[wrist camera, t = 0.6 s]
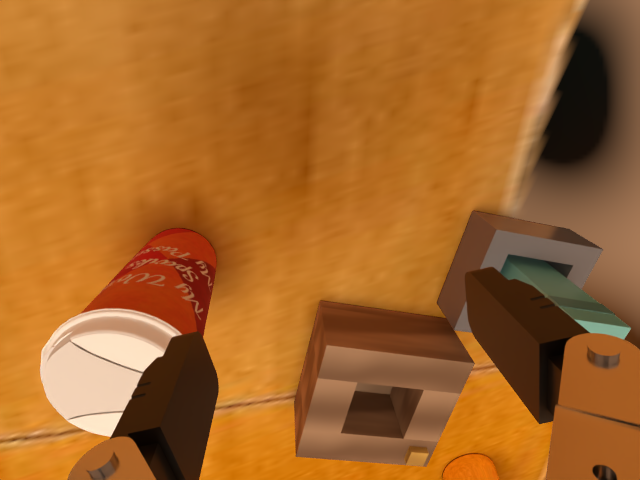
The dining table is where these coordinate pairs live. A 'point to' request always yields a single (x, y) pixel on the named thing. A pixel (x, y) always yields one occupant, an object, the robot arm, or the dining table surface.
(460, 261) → the grey square frame
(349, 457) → the port
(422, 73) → the dining table surface
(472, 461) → the beer glass
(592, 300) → the plug
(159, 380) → the robot arm
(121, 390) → the paper cup
